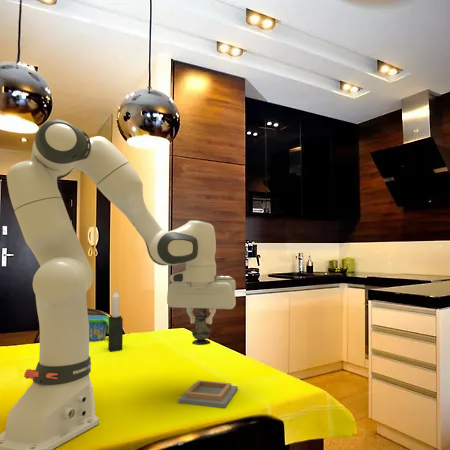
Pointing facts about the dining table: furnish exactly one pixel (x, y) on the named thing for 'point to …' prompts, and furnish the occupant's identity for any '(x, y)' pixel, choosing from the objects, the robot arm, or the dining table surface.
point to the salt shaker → (201, 328)
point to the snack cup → (98, 327)
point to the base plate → (209, 394)
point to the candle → (115, 326)
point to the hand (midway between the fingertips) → (201, 323)
